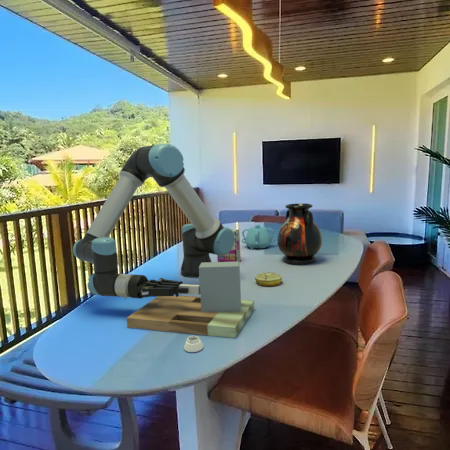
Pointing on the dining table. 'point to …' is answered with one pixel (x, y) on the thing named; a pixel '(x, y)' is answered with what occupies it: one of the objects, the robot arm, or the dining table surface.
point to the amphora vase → (299, 235)
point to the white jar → (193, 344)
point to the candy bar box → (232, 250)
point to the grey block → (220, 286)
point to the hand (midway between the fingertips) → (199, 290)
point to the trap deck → (189, 317)
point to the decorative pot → (258, 237)
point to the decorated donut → (268, 279)
